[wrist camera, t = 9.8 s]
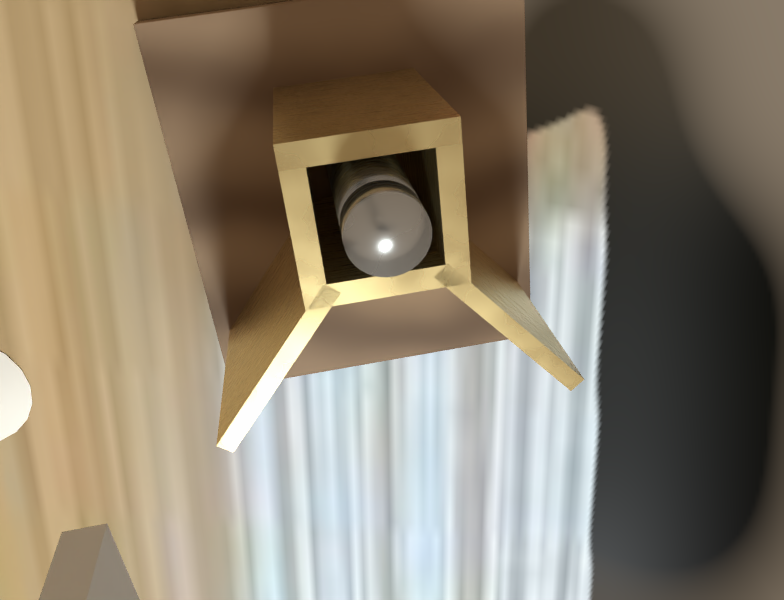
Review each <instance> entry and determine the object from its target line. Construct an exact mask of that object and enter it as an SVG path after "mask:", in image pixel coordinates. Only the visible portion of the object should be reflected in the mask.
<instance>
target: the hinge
mask: <svg viewBox="0 0 784 600" xmlns="http://www.w3.org/2000/svg"><path fill="white" fill-rule="evenodd" d="M273 147H274V153H275V158H276V163H277V168H278V173H279V178H280V183H281V188H282V193H283V199H284V204H285V209H286V214H287V219H288V224H289V229H290V235H289V236H288V238H287V239H286V241H285V243H284V244H283V246H282V247H281V249H280V251H279V252H278V254H277V255H276V257H275V259H274V260H273V262H272V263H271V265H270V267H269V268H268V270H267V271H266V273H265V275H264V276H263V278H262V279H261V281H260V283H259V284H258V286H257V287H256V289H255V291H254V292H253V294H252V295H251V297H250V299H249V300H248V302H247V303H246V305H245V307H244V308H243V310H242V312H241V313H240V315H239V316H238V318H237V320H236V321H235V323H234V324H233V326H232V328H231V329H230V331H229V340H228V349H227V358H226V367H225V376H224V385H223V393H222V402H221V411H220V420H219V429H218V438H217V446H218V447H221V448H223V449H226V450H228V451H231V452H234V451H235V449H236V448H237V446H238V445H239V443H240V442H241V440H242V439H243V437H244V436H245V434H246V433H247V431H248V430H249V428H250V427H251V425H252V424H253V423H254V421H255V420H256V418H257V417H258V415H259V414H260V412H261V411H262V409H263V408H264V406H265V405H266V403H267V402H268V400H269V399H270V397H271V396H272V394H273V393H274V391H275V390H276V388H277V387H278V385H279V384H280V383H281V381H282V380H283V378H284V377H285V375H286V374H287V372H288V371H289V369H290V368H291V366H292V365H293V363H294V362H295V360H296V359H297V357H298V356H299V354H300V353H301V351H302V350H303V348H304V347H305V345H306V344H307V342H308V341H309V340H310V338H311V337H312V335H313V334H314V332H315V331H316V329H317V328H318V326H319V325H320V323H321V322H322V320H323V319H324V317H325V316H326V314H327V313H328V311H329V310H330V308H331V307H332V306H337V305H343V304H349V303H355V302H361V301H367V300H373V299H379V298H385V297H391V296H396V295H402V294H408V293H414V292H420V291H426V290H432V289H438V288H444V287H446V288H447V289H449V290H450V291H451V292H452V293H453V294H455V295H456V296H457V297H458V298H459V299H461V300H462V301H463V302H464V303H465V304H467V305H468V306H469V307H470V308H471V309H473V310H474V311H475V312H476V313H478V314H479V315H480V316H481V317H482V318H484V319H485V320H486V321H487V322H488V323H490V324H491V325H492V326H493V327H494V328H496V329H497V330H498V331H499V332H500V333H502V334H503V335H504V336H505V337H506V338H508V339H509V340H510V341H511V342H512V343H514V344H515V345H516V346H517V347H519V348H520V349H521V350H522V351H523V352H525V353H526V354H527V355H528V356H529V357H531V358H532V359H533V360H534V361H535V362H537V363H538V364H539V365H540V366H541V367H543V368H544V369H545V370H546V371H547V372H549V373H550V374H551V375H552V376H553V377H555V378H556V379H557V380H558V381H560V382H561V383H562V384H563V385H564V386H566V387H567V388H568V389H569V390H570V391H571V390H573V389H574V388H575V387H576V386H577V385H578V384H579V383H581V382H582V381H583V380H584V378H583V377H582V376H581V374H580V373H579V371H578V370H577V368H576V367H575V365H574V364H573V362H572V361H571V359H570V358H569V356H568V355H567V354H566V352H565V351H564V349H563V348H562V346H561V345H560V343H559V342H558V340H557V339H556V337H555V336H554V335H553V333H552V332H551V330H550V329H549V327H548V326H547V324H546V323H545V321H544V320H543V318H542V317H541V315H540V314H539V313H538V311H537V310H536V308H535V307H534V305H533V304H532V302H531V301H530V299H529V298H528V296H527V295H526V294H525V292H524V291H523V289H522V288H521V286H520V285H519V283H518V282H517V281H516V280H515V279H514V278H513V277H511V276H510V275H509V274H508V273H507V272H506V271H505V270H504V269H502V268H501V267H500V266H499V265H498V264H497V263H496V262H495V261H493V260H492V259H491V258H490V257H489V256H488V255H487V254H486V253H484V252H483V251H482V250H481V249H480V248H479V247H478V246H477V245H475V244H474V243H473V242H472V241H471V240H470V239H469V237H468V222H467V206H466V191H465V175H464V160H463V144H462V128H461V116H460V115H459V114H458V113H457V112H456V111H455V110H454V109H453V108H452V107H451V106H450V105H449V104H448V103H447V102H446V101H445V100H444V99H443V98H442V97H441V96H440V95H439V94H438V93H437V92H436V91H435V90H434V89H433V88H432V87H431V86H430V85H429V84H428V83H427V81H426V80H425V79H424V78H423V77H422V76H421V75H420V74H419V73H418V72H417V71H416V70H415V69H414V68H410V69H403V70H396V71H389V72H382V73H375V74H368V75H361V76H354V77H347V78H340V79H333V80H326V81H319V82H312V83H305V84H298V85H291V86H285V87H278V88H273ZM397 153H402V160H403V169H404V172H405V174H406V176H407V178H408V180H409V181H410V183H411V185H412V187H413V189H414V191H415V192H416V194H417V196H418V198H419V200H420V201H421V203H422V205H423V207H424V209H425V211H426V212H427V214H428V216H429V219H430V222H431V225H432V241H431V245H430V248H429V250H428V252H427V254H426V256H425V257H424V258H423V260H422V261H421V262H420V263H419V264H418V265H417V266H416V267H414V268H413V269H411V270H410V271H408V272H406V273H404V274H401V275H398V276H394V277H376V276H372V275H369V274H367V273H365V272H363V271H361V270H360V269H358V268H357V267H356V266H355V265H354V264H353V263H352V262H351V261H350V259H349V258H348V256H347V254H346V251H345V248H344V244H343V240H342V235H341V231H340V226H339V222H338V217H337V213H336V208H335V204H334V199H333V196H330V197H324V198H317V199H314V196H313V190H312V184H311V178H310V173H309V167H312V166H319V165H325V164H332V163H338V162H345V161H351V160H358V159H365V158H371V157H378V156H384V155H391V154H397Z"/></svg>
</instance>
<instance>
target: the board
mask: <svg viewBox="0 0 784 600" xmlns="http://www.w3.org/2000/svg"><path fill="white" fill-rule="evenodd" d="M524 14H525V12H524V0H291V1H284V2H276V3H269V4H262V5H254V6H247V7H239V8H232V9H224V10H217V11H210V12H202V13H195V14H187V15H180V16H173V17H165V18H158V19H150V20H143V21H137V22H136V23H134V24H133V25H134V29H135V32H136V36H137V40H138V44H139V47H140V51H141V55H142V58H143V62H144V66H145V70H146V73H147V77H148V81H149V84H150V88H151V92H152V95H153V99H154V103H155V107H156V110H157V114H158V118H159V121H160V125H161V129H162V132H163V136H164V140H165V144H166V147H167V151H168V155H169V158H170V162H171V166H172V170H173V173H174V177H175V181H176V184H177V188H178V192H179V195H180V199H181V203H182V207H183V210H184V214H185V218H186V221H187V225H188V229H189V232H190V236H191V240H192V244H193V247H194V251H195V255H196V258H197V262H198V266H199V270H200V273H201V277H202V281H203V284H204V288H205V292H206V295H207V299H208V303H209V307H210V310H211V314H212V318H213V321H214V325H215V329H216V332H217V336H218V340H219V344H220V347H221V351H222V355H223V358H224V362H225V366H226V358H227V349H228V340H229V331H230V329H231V328H232V326H233V324H234V323H235V321H236V320H237V318H238V316H239V315H240V313H241V312H242V310H243V308H244V307H245V305H246V303H247V302H248V300H249V299H250V297H251V295H252V294H253V292H254V291H255V289H256V287H257V286H258V284H259V283H260V281H261V279H262V278H263V276H264V275H265V273H266V271H267V270H268V268H269V267H270V265H271V263H272V262H273V260H274V259H275V257H276V255H277V254H278V252H279V251H280V249H281V247H282V246H283V244H284V243H285V241H286V239H287V238H288V236H289V235H290V229H289V224H288V219H287V214H286V209H285V204H284V199H283V193H282V188H281V183H280V178H279V173H278V168H277V163H276V158H275V153H274V147H273V88H278V87H285V86H291V85H298V84H305V83H312V82H319V81H326V80H333V79H340V78H347V77H354V76H361V75H368V74H375V73H382V72H389V71H396V70H403V69H410V68H414V69H415V70H416V71H417V72H418V73H419V74H420V75H421V76H422V77H423V78H424V79H425V80H426V81H427V83H428V84H429V85H430V86H431V87H432V88H433V89H434V90H435V91H436V92H437V93H438V94H439V95H440V96H441V97H442V98H443V99H444V100H445V101H446V102H447V103H448V104H449V105H450V106H451V107H452V108H453V109H454V110H455V111H456V112H457V113H458V114H459V115H460V116H461V128H462V144H463V160H464V175H465V191H466V206H467V222H468V237H469V239H470V240H471V241H472V242H473V243H474V244H475V245H477V246H478V247H479V248H480V249H481V250H482V251H483V252H484V253H486V254H487V255H488V256H489V257H490V258H491V259H492V260H493V261H495V262H496V263H497V264H498V265H499V266H500V267H501V268H502V269H504V270H505V271H506V272H507V273H508V274H509V275H510V276H511V277H513V278H514V279H515V280H516V281H517V282H518V283H519V285H520V286H521V288H522V289H523V291H524V292H525V294H526V295H527V296H528V298H529V299H530V269H529V218H528V166H527V117H526V69H525V68H526V66H525V15H524ZM395 156H396V158H397V159H398V161H399V163H400V165H401V167H402V169H403V160H402V153H397V154H395ZM403 170H404V169H403ZM309 173H310V178H311V184H312V190H313V196H314V199H317V198H324V197H330V196H333V195H332V190H331V186H330V181H329V177H328V172H327V168H326V164H325V165H319V166H312V167H309ZM506 339H508V338H506V337H505V336H504V335H503V334H502V333H500V332H499V331H498V330H497V329H496V328H494V327H493V326H492V325H491V324H490V323H488V322H487V321H486V320H485V319H484V318H482V317H481V316H480V315H479V314H478V313H476V312H475V311H474V310H473V309H471V308H470V307H469V306H468V305H467V304H465V303H464V302H463V301H462V300H461V299H459V298H458V297H457V296H456V295H455V294H453V293H452V292H451V291H450V290H449V289H447V288H446V287H444V288H438V289H432V290H426V291H420V292H414V293H408V294H402V295H396V296H391V297H385V298H379V299H373V300H367V301H361V302H355V303H349V304H343V305H337V306H332V307H331V308H330V310H329V311H328V313H327V314H326V316H325V317H324V319H323V320H322V322H321V323H320V325H319V326H318V328H317V329H316V331H315V332H314V334H313V335H312V337H311V338H310V340H309V341H308V342H307V344H306V345H305V347H304V348H303V350H302V351H301V353H300V354H299V356H298V357H297V359H296V360H295V362H294V363H293V365H292V366H291V368H290V369H289V371H288V372H287V374H286V375H285V377H284V378H289V377H295V376H301V375H306V374H312V373H318V372H324V371H329V370H335V369H341V368H346V367H352V366H358V365H364V364H369V363H375V362H381V361H386V360H392V359H398V358H403V357H409V356H415V355H421V354H426V353H432V352H438V351H443V350H449V349H455V348H461V347H466V346H472V345H478V344H483V343H489V342H495V341H501V340H506ZM284 378H283V379H284Z"/></svg>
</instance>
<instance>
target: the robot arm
mask: <svg viewBox="0 0 784 600" xmlns="http://www.w3.org/2000/svg"><path fill="white" fill-rule="evenodd" d="M39 600H140V599H139V597H138V595H137V592H136V590H135V588H134V585H133V583H132V581H131V578H130V576H129V574H128V571H127V569H126V567H125V564H124V562H123V560H122V557H121V555H120V553H119V550H118V548H117V546H116V543H115V541H114V539H113V536H112V534H111V532H110V529H109V527H108V525H107V524H102V525H97V526H92V527H86V528H81V529H76V530H71V531H65V532H62V533H61V536H60V539H59V542H58V545H57V548H56V551H55V554H54V557H53V560H52V563H51V566H50V568H49V571H48V574H47V577H46V580H45V583H44V586H43V589H42V592H41V595H40V598H39Z"/></svg>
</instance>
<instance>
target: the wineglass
mask: <svg viewBox="0 0 784 600" xmlns="http://www.w3.org/2000/svg"><path fill="white" fill-rule="evenodd" d="M31 406H32V396H31V388H30V385H29V383H28V381H27V379H26V377H25V375H24V374H23V372H22V370H21V369H20V368H19V367H18V366H17V365H16V364H15V363H14V362H13V361H12V360H11V359H10V358H9V357H8V356H7V355H6V354H4V353H2V352H0V441H1V440H3V439H4V438H6V437H8V436H10V435H11V434H13V433H15V432H17V430H18V429H19V428H20V427H21V426H22V425H23V423H24V422H25V421H26V420H27V419H28V415H29V412H30V409H31Z"/></svg>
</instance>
